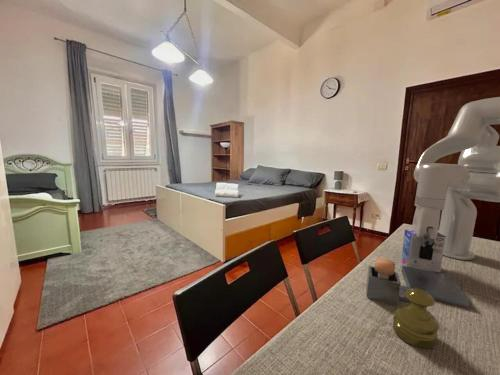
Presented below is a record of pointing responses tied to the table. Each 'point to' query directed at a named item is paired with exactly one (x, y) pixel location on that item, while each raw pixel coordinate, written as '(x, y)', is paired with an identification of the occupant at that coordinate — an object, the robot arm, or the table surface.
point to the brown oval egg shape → (384, 267)
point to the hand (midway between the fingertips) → (421, 252)
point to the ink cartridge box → (413, 248)
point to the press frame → (414, 286)
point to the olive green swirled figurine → (416, 320)
